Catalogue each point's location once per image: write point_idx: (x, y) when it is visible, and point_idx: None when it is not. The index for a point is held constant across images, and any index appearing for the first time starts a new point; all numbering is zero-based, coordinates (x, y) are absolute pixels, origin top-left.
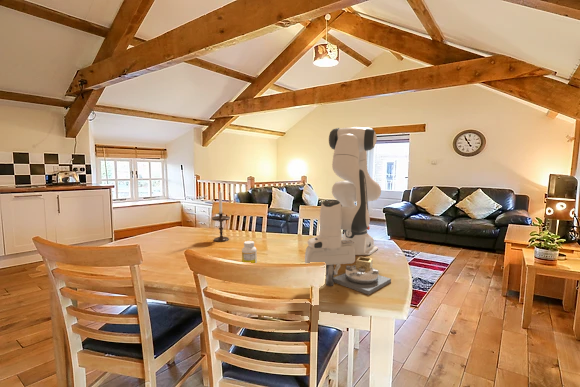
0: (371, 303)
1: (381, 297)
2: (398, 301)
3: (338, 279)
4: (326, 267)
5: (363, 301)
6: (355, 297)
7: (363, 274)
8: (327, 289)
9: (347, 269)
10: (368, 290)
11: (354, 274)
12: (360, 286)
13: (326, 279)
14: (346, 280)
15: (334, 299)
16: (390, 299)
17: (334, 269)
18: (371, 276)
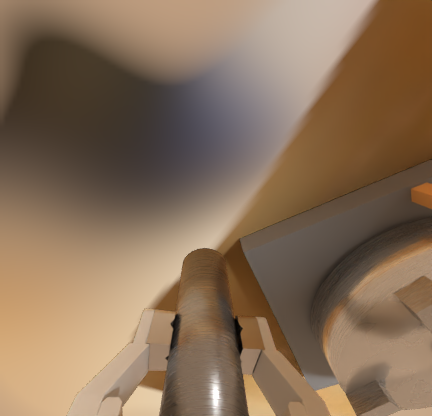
0: (268, 406)
1: (329, 388)
2: (351, 409)
3: (269, 277)
4: (161, 402)
5: (253, 396)
6: (245, 376)
7: (401, 388)
8: (167, 307)
9: (391, 308)
10: (314, 388)
11: (353, 380)
12: (314, 360)
13: (178, 293)
14: (303, 298)
15: (160, 373)
16: (342, 399)
17: (256, 353)
18: (412, 407)
